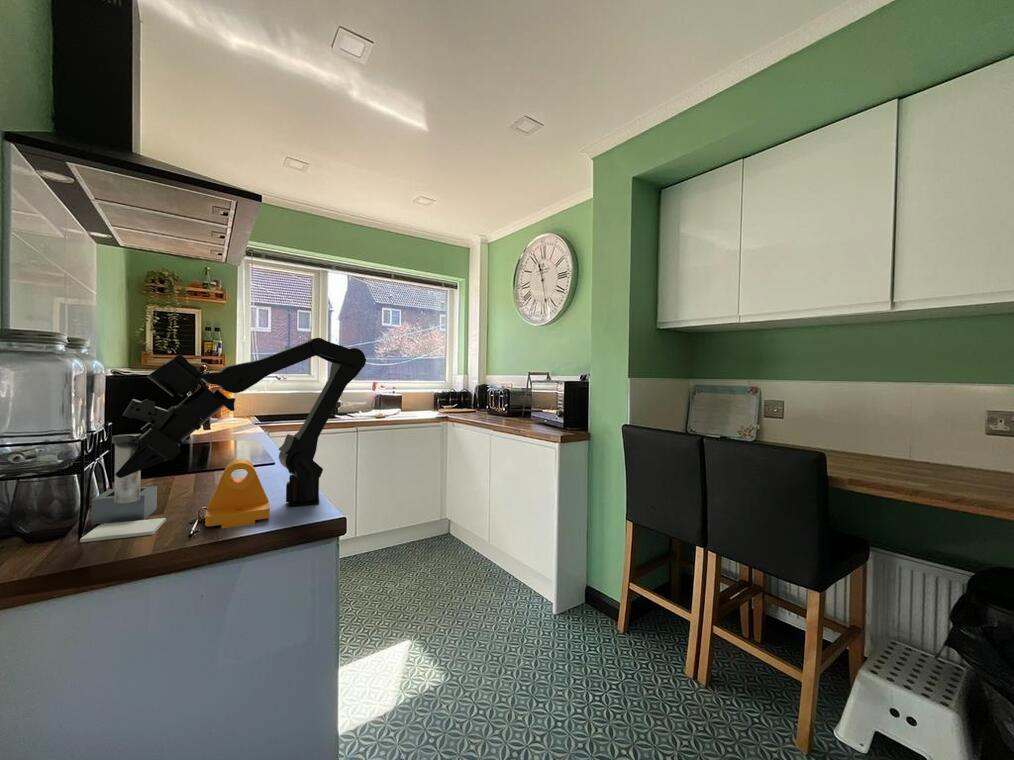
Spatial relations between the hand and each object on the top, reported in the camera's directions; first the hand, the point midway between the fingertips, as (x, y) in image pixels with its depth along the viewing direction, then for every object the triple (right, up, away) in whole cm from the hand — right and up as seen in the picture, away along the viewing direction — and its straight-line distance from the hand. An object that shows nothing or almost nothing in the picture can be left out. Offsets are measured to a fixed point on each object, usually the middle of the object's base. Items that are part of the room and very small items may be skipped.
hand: (118, 474), depth 78 cm
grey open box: (-6, -11, +9) cm, 15 cm away
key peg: (+1, -5, +1) cm, 5 cm away
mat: (+1, -11, +1) cm, 11 cm away
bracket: (+17, -11, +8) cm, 22 cm away
